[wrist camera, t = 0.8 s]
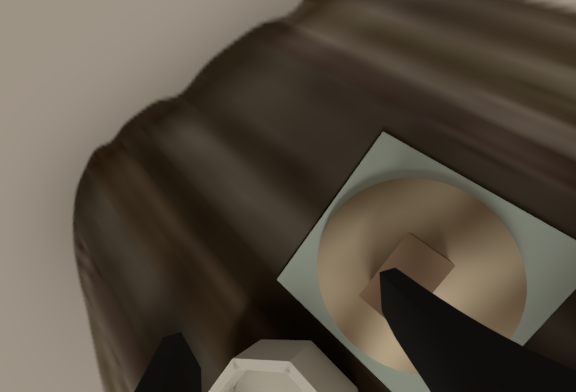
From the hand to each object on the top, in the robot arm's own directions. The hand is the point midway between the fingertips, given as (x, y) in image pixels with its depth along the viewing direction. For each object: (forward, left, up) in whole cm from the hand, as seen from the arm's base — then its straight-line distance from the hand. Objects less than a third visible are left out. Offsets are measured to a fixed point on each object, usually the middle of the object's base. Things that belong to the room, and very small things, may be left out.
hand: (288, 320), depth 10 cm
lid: (-3, -2, -15) cm, 15 cm away
